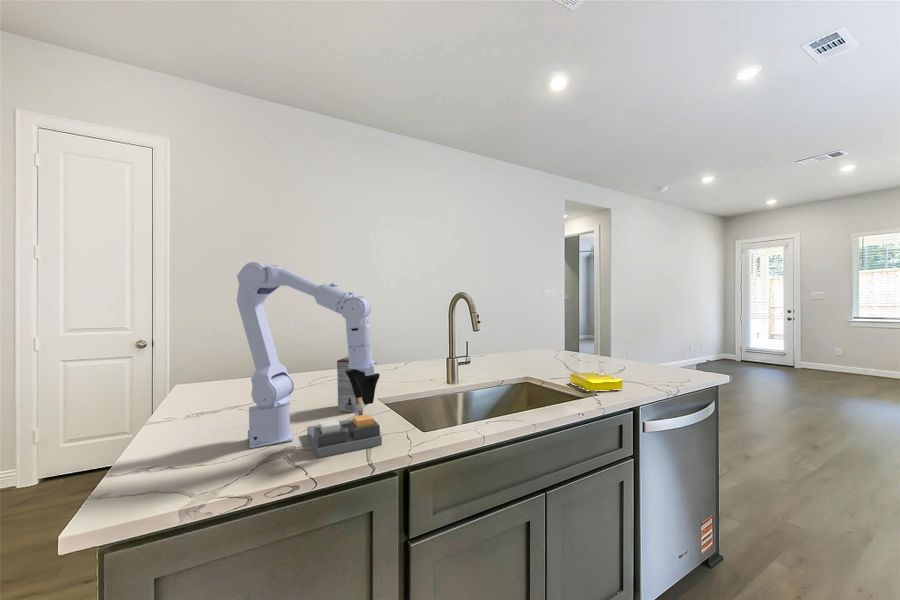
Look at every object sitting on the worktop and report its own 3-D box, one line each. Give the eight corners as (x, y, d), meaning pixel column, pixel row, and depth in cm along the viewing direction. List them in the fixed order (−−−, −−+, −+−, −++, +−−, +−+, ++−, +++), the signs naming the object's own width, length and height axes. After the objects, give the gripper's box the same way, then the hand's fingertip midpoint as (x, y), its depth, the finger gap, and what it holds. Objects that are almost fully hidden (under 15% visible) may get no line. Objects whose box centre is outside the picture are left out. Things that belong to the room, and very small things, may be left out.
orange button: (357, 429, 88) (357, 421, 88) (353, 424, 92) (353, 416, 92) (373, 426, 90) (373, 418, 90) (369, 421, 94) (368, 413, 94)
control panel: (318, 458, 82) (318, 437, 82) (307, 434, 96) (307, 417, 96) (381, 444, 89) (381, 426, 89) (363, 424, 103) (362, 408, 103)
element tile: (568, 384, 151) (568, 372, 151) (601, 382, 153) (601, 370, 153) (588, 393, 136) (588, 380, 136) (625, 391, 139) (625, 378, 139)
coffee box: (350, 403, 124) (350, 355, 124) (368, 404, 123) (368, 355, 123) (337, 411, 115) (336, 360, 115) (356, 412, 114) (355, 360, 114)
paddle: (358, 424, 97) (358, 409, 97) (354, 419, 100) (354, 405, 100) (363, 423, 97) (362, 408, 97) (358, 419, 101) (358, 404, 101)
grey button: (322, 435, 85) (322, 427, 85) (319, 430, 88) (319, 422, 88) (340, 432, 86) (340, 424, 86) (336, 427, 90) (336, 419, 90)
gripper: (384, 345, 87) (389, 403, 87) (366, 341, 100) (370, 391, 100) (355, 349, 84) (359, 409, 84) (340, 344, 96) (344, 397, 97)
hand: (364, 400), depth 92 cm, fingers open, 7 cm apart
